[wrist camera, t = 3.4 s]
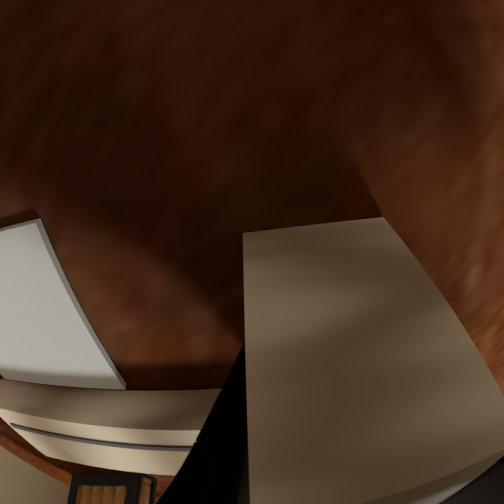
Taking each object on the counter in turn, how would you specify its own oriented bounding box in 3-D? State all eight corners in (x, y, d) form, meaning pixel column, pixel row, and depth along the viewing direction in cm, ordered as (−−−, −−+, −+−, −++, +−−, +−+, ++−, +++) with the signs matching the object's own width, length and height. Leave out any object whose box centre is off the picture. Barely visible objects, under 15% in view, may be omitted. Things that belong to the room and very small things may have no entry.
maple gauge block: (383, 217, 9) (523, 437, 3) (364, 354, 12) (413, 519, 6) (242, 233, 9) (250, 517, 3) (264, 369, 12) (277, 547, 6)
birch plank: (424, 355, 12) (441, 392, 10) (396, 419, 15) (405, 449, 14) (0, 378, 13) (-12, 406, 11) (52, 432, 16) (45, 457, 14)
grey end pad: (40, 218, 8) (35, 222, 8) (126, 384, 12) (125, 389, 12) (-72, 250, 9) (-76, 254, 8) (6, 374, 13) (4, 378, 12)
